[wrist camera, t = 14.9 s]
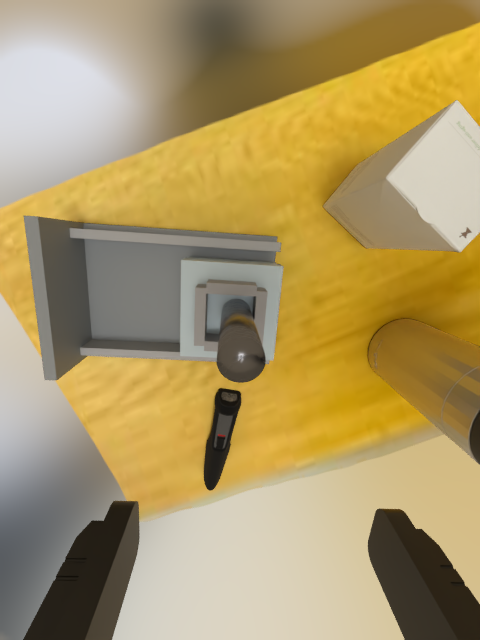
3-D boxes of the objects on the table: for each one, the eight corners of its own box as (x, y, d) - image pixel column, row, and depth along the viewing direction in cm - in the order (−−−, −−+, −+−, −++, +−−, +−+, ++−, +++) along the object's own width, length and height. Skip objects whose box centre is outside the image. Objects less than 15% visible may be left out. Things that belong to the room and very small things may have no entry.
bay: (276, 236, 35) (291, 234, 26) (264, 356, 39) (274, 389, 30) (77, 222, 33) (23, 215, 25) (87, 348, 38) (44, 379, 29)
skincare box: (402, 210, 34) (536, 184, 19) (363, 252, 36) (461, 259, 21) (356, 161, 33) (463, 91, 18) (317, 206, 34) (387, 178, 19)
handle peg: (252, 299, 28) (268, 338, 17) (249, 327, 29) (263, 383, 18) (222, 297, 28) (217, 335, 17) (220, 326, 29) (215, 381, 17)
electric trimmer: (198, 472, 44) (196, 489, 41) (217, 386, 40) (216, 398, 37) (222, 475, 45) (221, 493, 42) (242, 390, 40) (243, 403, 37)
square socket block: (273, 261, 34) (289, 268, 25) (265, 339, 37) (277, 371, 28) (190, 256, 34) (175, 260, 25) (188, 335, 36) (175, 366, 27)
